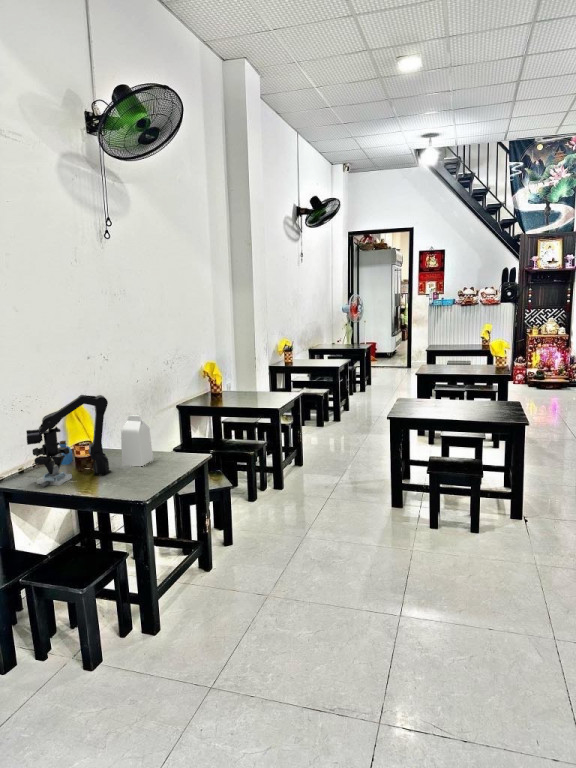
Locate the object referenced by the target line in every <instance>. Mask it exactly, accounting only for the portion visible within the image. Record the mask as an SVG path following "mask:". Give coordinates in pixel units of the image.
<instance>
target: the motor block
mask: <svg viewBox="0 0 576 768" xmlns="http://www.w3.org/2000/svg"><path fill="white" fill-rule="evenodd" d="M72 479H73V475H72V474H71V473H66V472H65V471H61V472H59V474H57V475H55V476H54V477H50V476H49V472H48V471H47V472H46V473H44V474H43V476H42V477H40V478H38V479H36V484H37V485H39V486H40V488H43V489H44V488H45V487H46V486H49V485H51V486H61V485H62V484H64V483H66V482H68V481H69V480H72Z"/></svg>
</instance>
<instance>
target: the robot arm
mask: <svg viewBox="0 0 576 768" xmlns="http://www.w3.org/2000/svg"><path fill="white" fill-rule="evenodd" d="M108 402H109V401H108V399H107V398H106V397H105V396H104V395H102V394H99V395H86V394H80V395H79V396H78V397H76V398H75V399H73V400H72V401H70V402H69V403H67V404H66V405H64V406H62V407H61V408H59V410H56V411H54V412H51V413H48V414H47V415H45V416H43V417H42V419H41V424H40V426H39V427H38V429H27V430H26V444H27V445H28V446H29V445H30V446H31V445H35V444H41V443H42V442H43V443H44V444H42V445H41V447H40V448H39V447H35V448H32V455H33V456H36V458H34V460H33V462H34V465H43V466H45V468H46V470H47V473H48V472H49V474H52V472H53V466H54V464H56V465H58V468H59V469H60V467H61V466H62V465H61V463H62V461H63V459H64V457H65V456H64V455H63V454H62V453H64V454H65V455H66V454H68V453H69V449H68V448H64V447H60V441H58V434H57V433H60V432H61V429H60V428H59V427H58V426H57V425H58V424H59V423H60V422H61V421H62V420H63V419H64V418H65V417H66V416H68V415H69V414H71V413H73V412H74V411H75V410H77V409H78V408H80V407H82V406H83V405H89V406H93V407H94V414H95V416H94V427H93V439H92V442H91V443H89V444H88V447H89V448H88V455H90V458H91V460H93V461H94V462H93V472H94V473H92V475H94V476H106V475H108V474H109V473H111V472H112V471H111V470H110V465H109V462H110V461H109V459H108V457H107V454H105V453H104V449H103V443H102V441H103V432H104V431H103V429H104V417H105V416H104V415H105V414H106V411H107V407H108V405H109V404H108Z"/></svg>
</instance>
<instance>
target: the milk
mask: <svg viewBox="0 0 576 768" xmlns="http://www.w3.org/2000/svg"><path fill="white" fill-rule="evenodd" d="M126 420H127V421H126V422H125V424H124V425H123V426H122V429H121V432H120V435H121V436H120V438H121V439H120V441H121V442H120V443H121V445H120V446H121V447H120V448H121V466H122V465H130V466H129V467H131V465H132V466H143V465H144V464H146V463H148V462H149V461H151V460H154V454H153V447H152V446H153V445H152V437H151V431H150V427H149V426H148V424H147V423H146V422H144V421H143V419H142V416H141V415H138V414H137V415H136V414H135V415H133V414H129V415H128V417H127V419H126ZM143 467H144V466H143Z"/></svg>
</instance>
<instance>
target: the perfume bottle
mask: <svg viewBox="0 0 576 768" xmlns="http://www.w3.org/2000/svg"><path fill="white" fill-rule="evenodd" d="M59 443H60V445H59V447H64V448H68V449H69V453H68V454H66V455H65V454H64V453H62V454H63V455H64V456H65V457H64V459H63V461H62V463H61V466H62V465H63V466H64V465H65V466H67V465H69V464H71V463H72V462H73V452H72V451H73V450H72V449H71V448H70V447H69V446H68V445H67V441H66V440H60V441H59Z"/></svg>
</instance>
